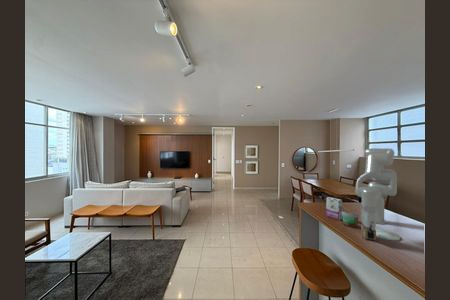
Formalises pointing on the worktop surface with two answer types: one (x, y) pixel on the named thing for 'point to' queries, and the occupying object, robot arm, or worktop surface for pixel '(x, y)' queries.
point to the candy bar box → (334, 208)
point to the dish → (387, 235)
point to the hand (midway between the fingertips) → (368, 235)
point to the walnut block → (366, 232)
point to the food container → (350, 219)
